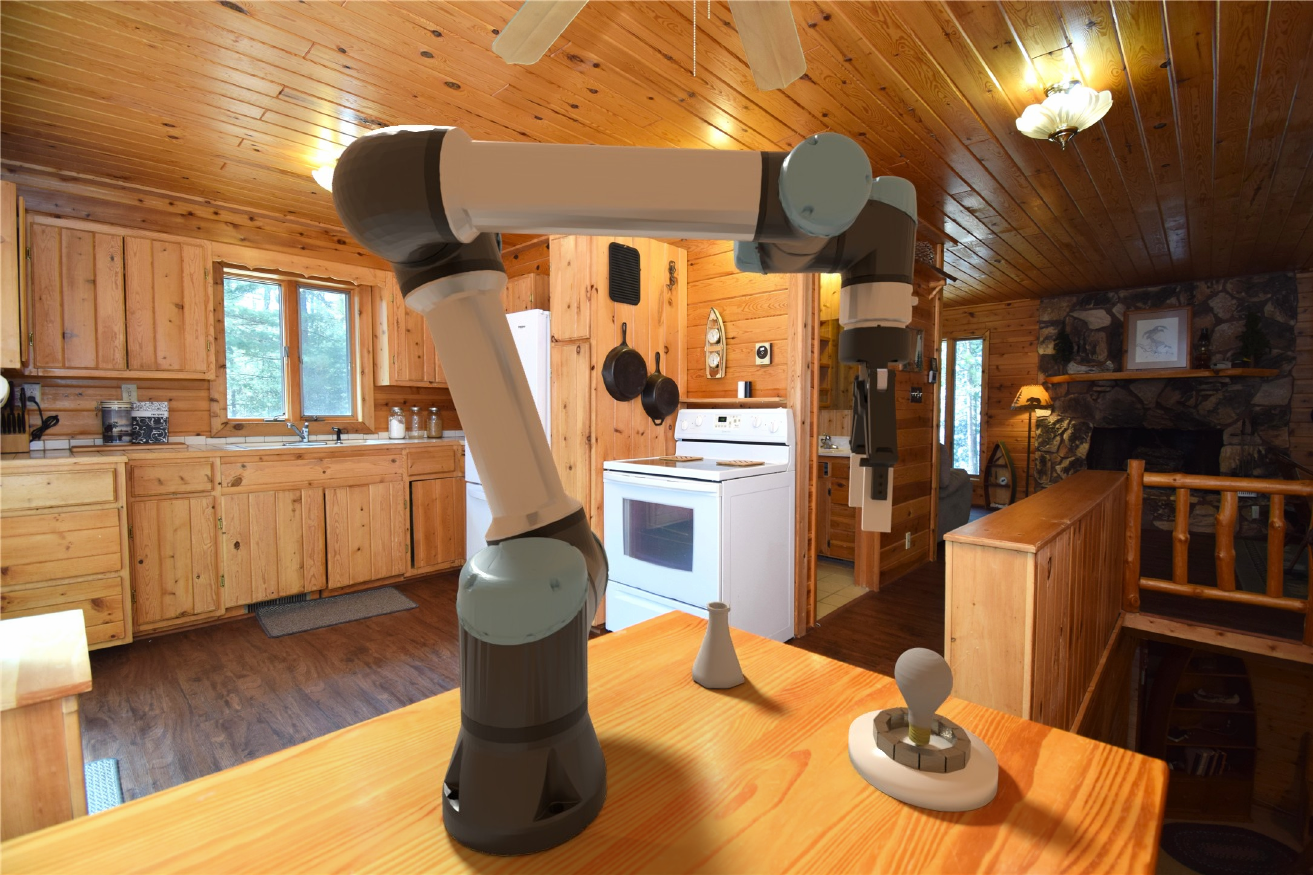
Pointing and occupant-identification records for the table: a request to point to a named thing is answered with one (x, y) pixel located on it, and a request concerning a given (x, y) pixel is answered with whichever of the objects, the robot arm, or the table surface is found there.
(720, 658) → the flask
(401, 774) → the table surface
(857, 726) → the socket base
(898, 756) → the socket collar
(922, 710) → the light bulb
